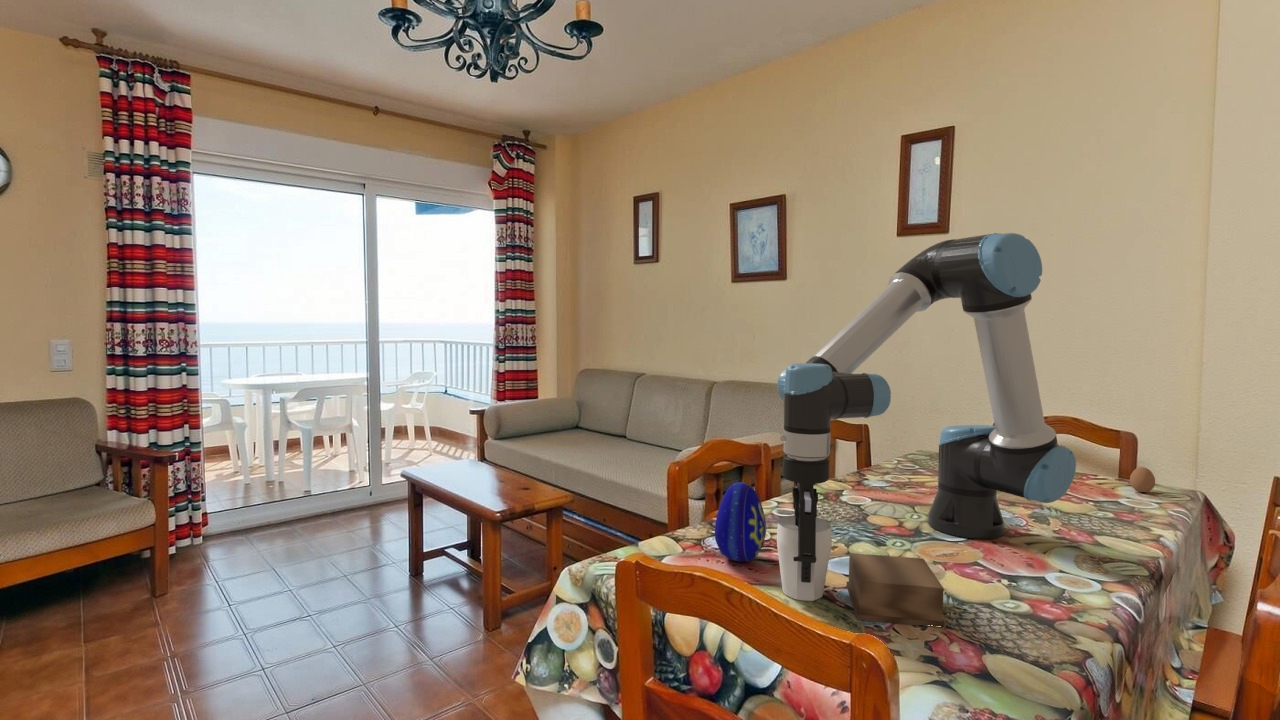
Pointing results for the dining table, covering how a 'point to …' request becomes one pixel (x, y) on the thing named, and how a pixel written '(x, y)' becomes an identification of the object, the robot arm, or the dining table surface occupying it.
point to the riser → (894, 590)
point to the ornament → (740, 523)
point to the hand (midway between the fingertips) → (802, 586)
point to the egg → (1142, 479)
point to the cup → (789, 550)
